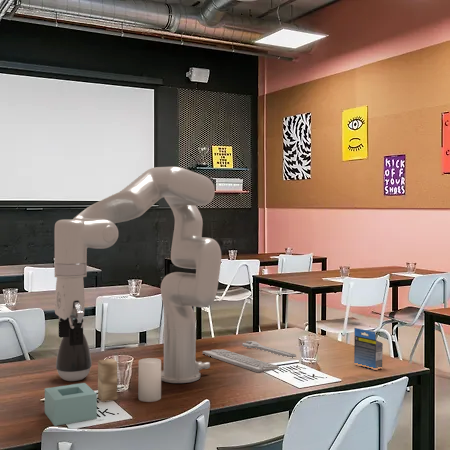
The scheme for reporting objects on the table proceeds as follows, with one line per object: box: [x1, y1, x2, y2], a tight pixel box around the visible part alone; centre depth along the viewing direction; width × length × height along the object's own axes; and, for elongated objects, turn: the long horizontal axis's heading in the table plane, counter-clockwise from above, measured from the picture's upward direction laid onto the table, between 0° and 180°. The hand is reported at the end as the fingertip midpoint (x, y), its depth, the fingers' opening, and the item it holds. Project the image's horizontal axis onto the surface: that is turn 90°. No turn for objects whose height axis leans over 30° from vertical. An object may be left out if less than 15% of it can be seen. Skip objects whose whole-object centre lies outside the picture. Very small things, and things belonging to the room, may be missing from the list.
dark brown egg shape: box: [55, 333, 93, 382], centre depth 170 cm, size 10×10×15 cm
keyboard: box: [202, 349, 280, 373], centre depth 192 cm, size 29×10×2 cm, turn 39°
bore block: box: [44, 382, 98, 427], centre depth 139 cm, size 10×10×6 cm
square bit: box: [97, 358, 118, 403], centre depth 152 cm, size 4×4×10 cm
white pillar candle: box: [137, 357, 162, 403], centre depth 153 cm, size 6×6×10 cm
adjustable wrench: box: [242, 340, 297, 359], centre depth 205 cm, size 25×6×2 cm, turn 37°
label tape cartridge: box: [353, 327, 384, 368], centre depth 186 cm, size 9×4×12 cm, turn 37°
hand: (70, 340), depth 139 cm, fingers open, 9 cm apart
